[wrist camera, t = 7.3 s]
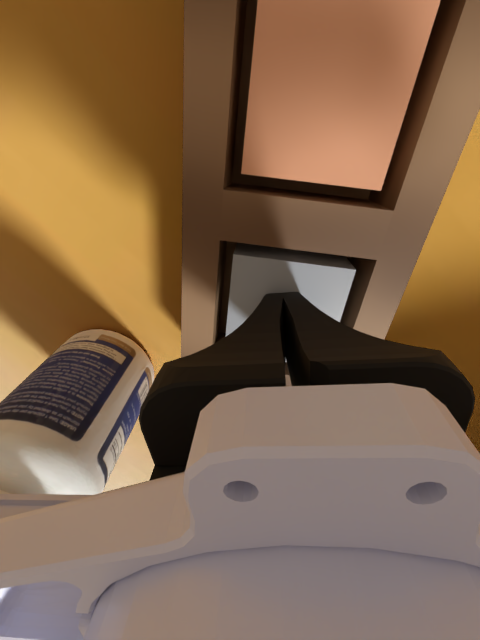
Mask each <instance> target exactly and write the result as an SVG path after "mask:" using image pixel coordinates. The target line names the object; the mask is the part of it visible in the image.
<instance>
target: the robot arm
mask: <svg viewBox="0 0 480 640" xmlns="http://www.w3.org/2000/svg"><path fill="white" fill-rule="evenodd" d="M285 361H287V366H288V371H289V375H290V380H291V385H292V386H286V377H285ZM474 402H475V396H474V392H473V388H472V386H471V384H470V383H469V382H468V381H467V379H466V378H465V377H464V375H463V374H462V373H461V372H460V371H459V370H458V369H457V367H456V366H455V365H454V364H453V363H452V362H451V361H450V360H449V359H448V358H447V357H446V355H445V354H443V353H442V352H441V351H439V350H433V349H427V348H421V347H415V346H409V345H404V344H400V343H396V342H392V341H388V340H384V339H380V338H377V337H374V336H371V335H368V334H365V333H363V332H360V331H357V330H355V329H353V328H350V327H348V326H346V325H344V324H342V323H340V322H338V321H337V320H335V319H333V318H331V317H330V316H328V315H327V314H325V313H324V312H322V311H321V310H319V309H318V308H317V307H315V306H314V305H313V304H312V303H310V302H309V301H308V300H307V299H306V298H305V297H304V296H302V295H301V294H300V293H299V292H284V293H270V294H266V295H265V296H264V297H263V298H262V300H261V302H260V303H259V305H258V306H257V307H256V309H255V310H254V311H253V312H252V314H251V315H250V316H249V317H248V318H247V319H246V320H245V321H244V322H243V324H242V325H240V326H239V327H238V328H237V329H236V330H234V331H233V332H232V333H230V334H229V335H227V336H226V337H224V338H223V339H221V340H219V341H218V342H216V343H214V344H213V345H211V346H209V347H207V348H205V349H203V350H200V351H198V352H196V353H193V354H191V355H188V356H185V357H182V358H179V359H176V360H173V361H170V362H166V363H164V365H163V366H162V368H161V369H160V371H159V373H158V374H157V376H156V378H155V380H154V381H153V383H152V385H151V387H150V389H149V391H148V394H147V396H146V398H145V400H144V402H143V404H142V406H141V409H140V415H139V421H140V426H141V430H142V433H143V435H144V438H145V441H146V443H147V446H148V448H149V451H150V454H151V456H152V459H153V461H154V464H155V467H154V469H153V472H152V475H151V478H150V481H146V482H142V483H138V484H135V485H131V486H127V487H123V488H119V489H115V490H111V491H107V492H103V493H99V494H95V495H66V494H0V640H480V453H479V452H478V451H477V449H476V448H475V446H474V445H473V444H472V442H471V441H470V439H469V438H468V437H467V435H466V434H465V432H466V429H467V426H468V423H469V421H470V418H471V415H472V412H473V408H474Z"/></svg>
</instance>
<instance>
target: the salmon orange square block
mask: <svg viewBox="0 0 480 640" xmlns="http://www.w3.org/2000/svg"><path fill="white" fill-rule="evenodd" d="M440 1H441V0H258V3H257V14H256V24H255V34H254V45H253V55H252V66H251V76H250V86H249V97H248V107H247V118H246V128H245V138H244V149H243V159H242V170H241V174H247V175H255V176H263V177H271V178H279V179H287V180H296V181H304V182H312V183H320V184H328V185H337V186H345V187H353V188H361V189H369V190H378V191H381V189H382V186H383V183H384V180H385V176H386V173H387V170H388V167H389V164H390V161H391V157H392V154H393V151H394V148H395V145H396V141H397V138H398V135H399V132H400V129H401V125H402V122H403V119H404V116H405V113H406V109H407V106H408V103H409V100H410V97H411V94H412V90H413V87H414V84H415V81H416V78H417V74H418V71H419V68H420V65H421V62H422V58H423V55H424V52H425V49H426V46H427V42H428V39H429V36H430V33H431V30H432V27H433V23H434V20H435V17H436V14H437V11H438V7H439V4H440Z"/></svg>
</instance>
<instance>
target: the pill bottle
mask: <svg viewBox="0 0 480 640" xmlns="http://www.w3.org/2000/svg"><path fill="white" fill-rule="evenodd" d="M153 381H154V369H153V365H152V363H151V361H150V359H149V358H148V356H147V355H146V353H145V352H144V351H143V349H142V348H141V347H140V346H139V345H137V344H136V343H135V342H134V341H132V340H131V339H129V338H127V337H125V336H123V335H121V334H119V333H117V332H114V331H109V330H103V329H92V330H86V331H82V332H80V333H77V334H75V335H73V336H72V337H71V338H69V339H68V340H67V341H66V342H65V343H63V344H62V345H61V346H60V347H59V348H58V349H57V350H56V351H55V352H54V353H53V354H52V355H51V356H50V357H49V358H48V359H46V360H45V361H44V362H43V363H42V364H41V365H40V366H39V367H38V368H37V369H36V370H35V371H34V372H32V373H31V374H30V375H29V376H28V377H27V378H26V379H25V380H24V381H23V382H22V383H21V384H20V385H19V386H18V387H17V388H16V389H15V390H13V391H12V392H11V393H10V394H9V395H8V396H7V397H6V398H5V399H4V400H3V401H2V402H1V403H0V494H66V495H95V494H99V493H102V491H103V490H104V487H105V484H106V483H107V481H108V479H109V477H110V474H111V472H112V471H113V469H114V466H115V464H116V462H117V460H118V458H119V456H120V454H121V452H122V450H123V448H124V445H125V443H126V441H127V439H128V437H129V435H130V433H131V431H132V429H133V427H134V425H135V423H136V420H137V418H138V416H139V414H140V409H141V406H142V404H143V402H144V400H145V398H146V396H147V394H148V391H149V389H150V387H151V385H152V383H153Z"/></svg>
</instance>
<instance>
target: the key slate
mask: <svg viewBox="0 0 480 640" xmlns="http://www.w3.org/2000/svg"><path fill="white" fill-rule="evenodd" d="M355 272H356V269H355V268H354V266H353V265H352V264H351V263H350V261H349V260H348V259H347V257H346V256H341V255H333V254H325V253H317V252H309V251H301V250H293V249H285V248H277V247H269V246H261V245H254V244H246V243H238V242H237V245H236V248H235V251H234V254H233V263H232V273H231V284H230V294H229V305H228V315H227V325H226V336H227V335H229V334H230V333H232V332H233V331H234V330H236V329H237V328H238V327H239V326H240V325H242V324H243V322H244V321H245V320H246V319H247V318H248V317H249V316H250V315H251V314H252V312H253V311H254V310H255V309H256V307H257V306H258V305H259V303H260V302H261V300H262V298H263V297H264V296H265V295H266V294H270V293H284V292H299V293H300V294H301V295H302V296H304V297H305V298H306V299H307V300H308V301H309V302H310V303H312V304H313V305H314V306H315V307H317V308H318V309H319V310H321V311H322V312H324V313H325V314H327V315H328V316H330V317H331V318H333V319H335V320H337V321H338V322H340V320H341V317H342V314H343V310H344V307H345V304H346V301H347V298H348V294H349V291H350V288H351V285H352V282H353V279H354V275H355ZM226 336H225V337H226ZM285 362H287V361H285Z"/></svg>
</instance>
